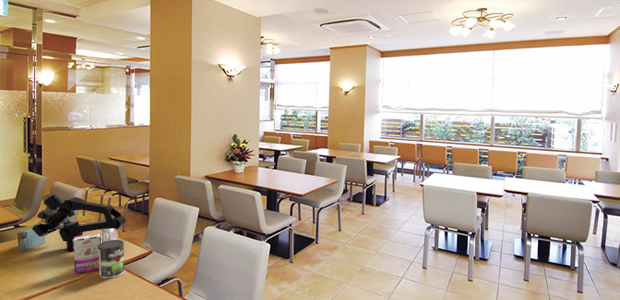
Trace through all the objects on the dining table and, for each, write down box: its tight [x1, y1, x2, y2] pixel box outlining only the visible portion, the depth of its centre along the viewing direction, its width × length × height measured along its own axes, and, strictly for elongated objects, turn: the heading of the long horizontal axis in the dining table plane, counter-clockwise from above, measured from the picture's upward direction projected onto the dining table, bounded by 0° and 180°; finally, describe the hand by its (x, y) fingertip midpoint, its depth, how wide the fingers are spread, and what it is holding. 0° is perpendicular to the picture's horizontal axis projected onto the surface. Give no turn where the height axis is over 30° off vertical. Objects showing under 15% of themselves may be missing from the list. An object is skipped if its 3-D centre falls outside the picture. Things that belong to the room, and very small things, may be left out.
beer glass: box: [101, 228, 119, 242], centre depth 175 cm, size 7×7×15 cm
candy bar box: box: [72, 232, 102, 275], centre depth 163 cm, size 11×5×16 cm, turn 118°
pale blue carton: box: [16, 226, 33, 252], centre depth 188 cm, size 4×14×10 cm, turn 174°
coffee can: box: [98, 239, 126, 279], centre depth 161 cm, size 10×10×14 cm
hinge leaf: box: [20, 229, 46, 253], centre depth 187 cm, size 2×13×10 cm, turn 174°
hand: (43, 235), depth 187 cm, fingers closed
